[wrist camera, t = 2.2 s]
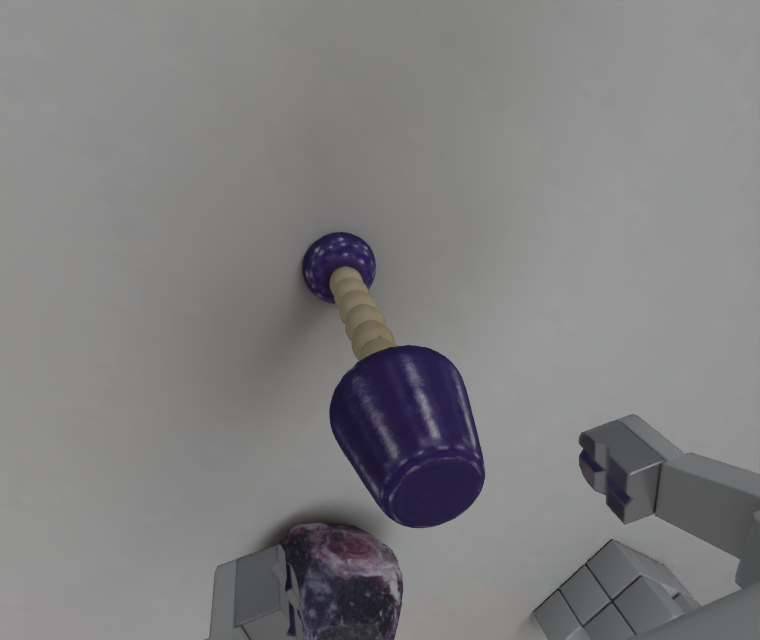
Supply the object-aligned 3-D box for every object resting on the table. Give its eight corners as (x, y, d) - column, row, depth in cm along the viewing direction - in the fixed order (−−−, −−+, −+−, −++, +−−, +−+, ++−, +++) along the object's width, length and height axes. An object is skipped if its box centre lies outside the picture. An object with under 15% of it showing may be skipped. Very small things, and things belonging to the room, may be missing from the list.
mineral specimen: (211, 592, 32) (250, 713, 24) (309, 474, 35) (374, 545, 27) (300, 639, 37) (358, 754, 29) (380, 531, 40) (454, 607, 31)
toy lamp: (379, 301, 28) (517, 525, 13) (304, 316, 27) (364, 573, 12) (369, 225, 25) (523, 395, 11) (288, 240, 25) (337, 444, 10)
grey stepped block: (532, 612, 49) (578, 697, 42) (612, 538, 46) (675, 616, 39) (592, 631, 54) (641, 709, 47) (666, 565, 52) (730, 638, 45)
